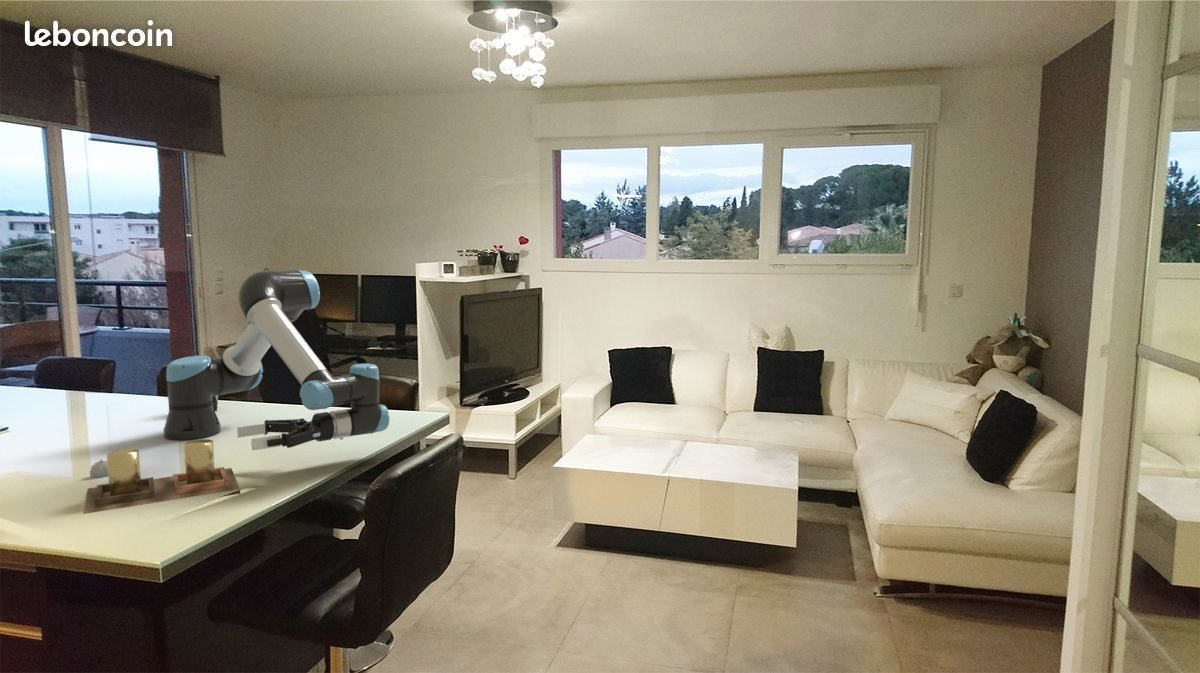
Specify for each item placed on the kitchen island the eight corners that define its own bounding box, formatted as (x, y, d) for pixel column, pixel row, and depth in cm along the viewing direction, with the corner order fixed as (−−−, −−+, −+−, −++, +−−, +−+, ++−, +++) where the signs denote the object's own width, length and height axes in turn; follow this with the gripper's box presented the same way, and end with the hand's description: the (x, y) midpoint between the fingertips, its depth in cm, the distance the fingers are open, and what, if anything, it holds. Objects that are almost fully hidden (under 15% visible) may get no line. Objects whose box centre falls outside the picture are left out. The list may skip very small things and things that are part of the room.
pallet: (83, 519, 150) (82, 506, 150) (88, 493, 165) (87, 482, 165) (240, 493, 167) (239, 482, 166) (231, 472, 182) (231, 462, 181)
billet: (104, 496, 160) (100, 453, 159) (131, 488, 166) (128, 447, 164) (120, 500, 158) (117, 457, 156) (147, 492, 163) (144, 450, 162)
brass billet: (181, 484, 168) (178, 444, 167) (204, 477, 174) (201, 438, 173) (197, 488, 166) (195, 447, 165) (220, 481, 171) (218, 441, 170)
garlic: (103, 483, 172) (101, 463, 171) (84, 482, 173) (82, 461, 172) (123, 475, 178) (122, 455, 177) (105, 474, 179) (103, 454, 178)
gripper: (348, 450, 180) (258, 465, 167) (315, 428, 199) (233, 441, 186) (347, 421, 179) (257, 435, 166) (314, 402, 198) (231, 413, 185)
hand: (244, 438), depth 176 cm, fingers open, 13 cm apart
